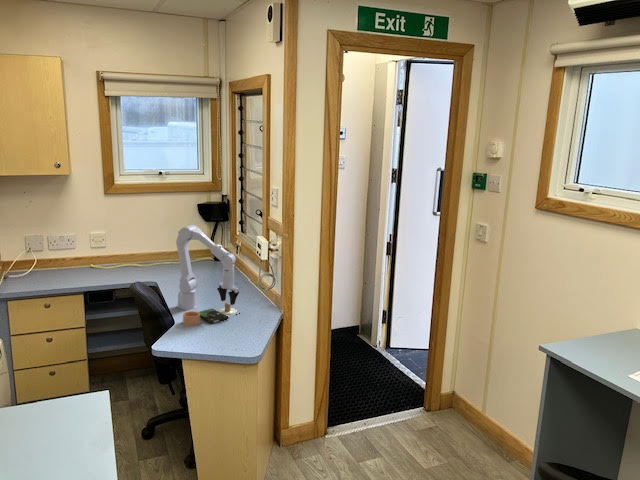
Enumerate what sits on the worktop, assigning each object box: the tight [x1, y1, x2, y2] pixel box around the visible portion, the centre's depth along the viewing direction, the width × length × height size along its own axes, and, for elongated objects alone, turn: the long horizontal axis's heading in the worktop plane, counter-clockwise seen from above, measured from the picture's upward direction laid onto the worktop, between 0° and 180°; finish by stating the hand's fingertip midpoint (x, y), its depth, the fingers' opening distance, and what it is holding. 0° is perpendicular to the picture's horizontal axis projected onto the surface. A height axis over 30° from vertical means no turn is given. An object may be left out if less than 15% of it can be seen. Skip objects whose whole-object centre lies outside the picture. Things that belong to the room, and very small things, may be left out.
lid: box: [217, 302, 238, 315], centre depth 266 cm, size 10×10×5 cm
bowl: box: [182, 310, 201, 327], centre depth 250 cm, size 8×8×4 cm
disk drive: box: [198, 308, 229, 325], centre depth 257 cm, size 10×3×15 cm
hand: (227, 302), depth 265 cm, fingers open, 7 cm apart
